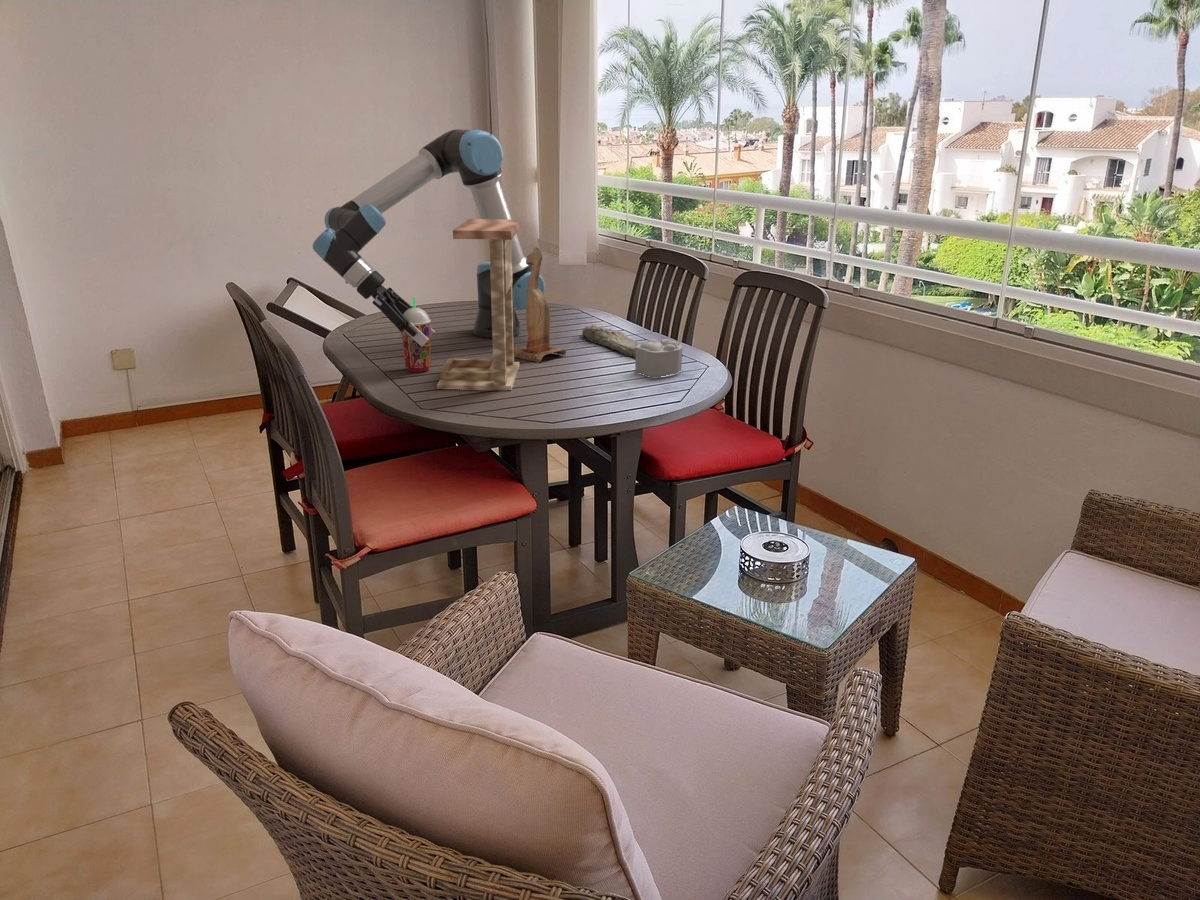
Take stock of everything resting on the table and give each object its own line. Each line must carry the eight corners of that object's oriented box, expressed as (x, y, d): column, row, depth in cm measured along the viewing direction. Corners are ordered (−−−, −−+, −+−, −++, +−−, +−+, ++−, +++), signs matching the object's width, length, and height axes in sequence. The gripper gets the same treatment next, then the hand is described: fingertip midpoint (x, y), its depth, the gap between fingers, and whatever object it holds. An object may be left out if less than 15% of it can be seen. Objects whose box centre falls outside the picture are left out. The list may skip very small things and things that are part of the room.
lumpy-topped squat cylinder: (630, 371, 242) (631, 340, 239) (666, 364, 249) (667, 334, 246) (654, 379, 234) (655, 348, 231) (690, 372, 241) (692, 342, 238)
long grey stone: (631, 365, 252) (659, 363, 258) (633, 348, 251) (661, 346, 256) (573, 335, 280) (599, 333, 285) (574, 318, 278) (600, 317, 283)
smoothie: (426, 374, 234) (422, 301, 227) (397, 372, 236) (392, 299, 229) (438, 367, 242) (434, 295, 235) (410, 365, 244) (405, 294, 237)
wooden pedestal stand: (436, 390, 221) (427, 229, 207) (452, 364, 245) (445, 218, 231) (514, 391, 221) (511, 231, 207) (523, 365, 246) (520, 219, 231)
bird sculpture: (536, 351, 262) (531, 243, 251) (567, 356, 256) (563, 245, 245) (512, 358, 254) (506, 247, 243) (543, 364, 247) (538, 249, 236)
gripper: (365, 282, 241) (426, 339, 247) (344, 296, 221) (411, 358, 227) (383, 263, 239) (444, 321, 245) (363, 276, 219) (430, 338, 225)
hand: (428, 339), depth 236 cm, fingers closed on smoothie, 8 cm apart
